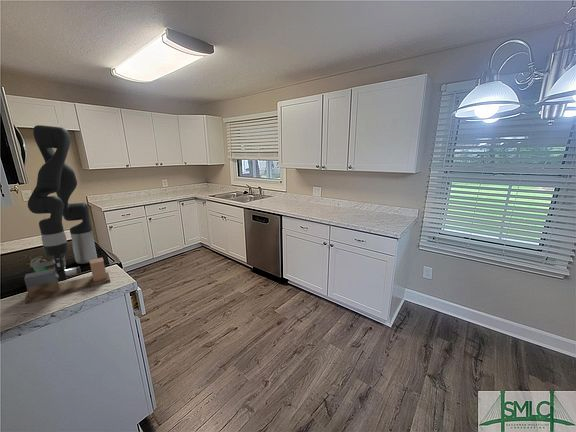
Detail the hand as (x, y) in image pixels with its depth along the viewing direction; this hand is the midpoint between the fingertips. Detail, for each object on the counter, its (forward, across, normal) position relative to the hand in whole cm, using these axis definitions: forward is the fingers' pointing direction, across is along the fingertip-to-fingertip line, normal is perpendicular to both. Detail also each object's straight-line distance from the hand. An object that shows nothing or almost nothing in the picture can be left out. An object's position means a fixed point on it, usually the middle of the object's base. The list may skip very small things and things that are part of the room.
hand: (63, 278), depth 108 cm
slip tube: (-1, 0, +3) cm, 3 cm away
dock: (+5, 0, -2) cm, 5 cm away
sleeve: (-1, 0, +7) cm, 7 cm away
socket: (+4, 0, -12) cm, 13 cm away
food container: (+5, +18, +8) cm, 21 cm away
